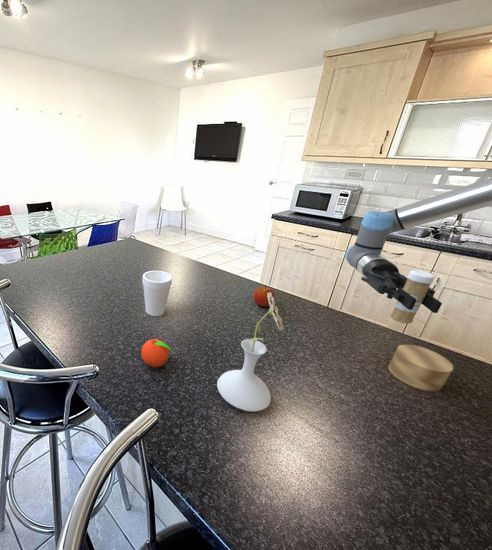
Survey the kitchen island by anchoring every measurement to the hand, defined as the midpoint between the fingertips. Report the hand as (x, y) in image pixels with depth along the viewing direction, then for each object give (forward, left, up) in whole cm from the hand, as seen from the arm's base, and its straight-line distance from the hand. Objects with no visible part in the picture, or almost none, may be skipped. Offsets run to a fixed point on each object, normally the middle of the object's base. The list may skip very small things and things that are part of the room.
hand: (424, 306), depth 70 cm
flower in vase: (+40, +22, -18) cm, 49 cm away
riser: (-2, +4, -18) cm, 18 cm away
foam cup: (+66, -8, -18) cm, 69 cm away
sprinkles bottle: (0, -5, -7) cm, 9 cm away
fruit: (+30, -23, -18) cm, 42 cm away
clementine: (+61, +18, -18) cm, 66 cm away
